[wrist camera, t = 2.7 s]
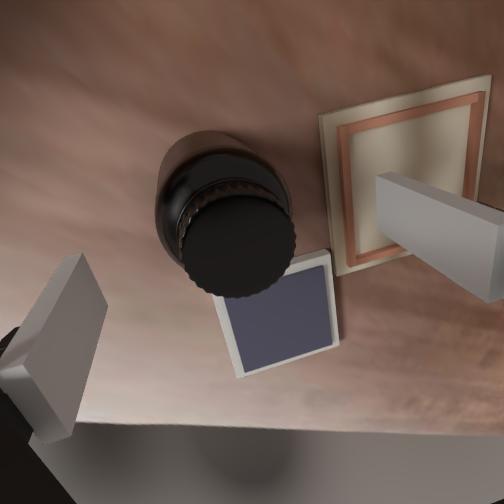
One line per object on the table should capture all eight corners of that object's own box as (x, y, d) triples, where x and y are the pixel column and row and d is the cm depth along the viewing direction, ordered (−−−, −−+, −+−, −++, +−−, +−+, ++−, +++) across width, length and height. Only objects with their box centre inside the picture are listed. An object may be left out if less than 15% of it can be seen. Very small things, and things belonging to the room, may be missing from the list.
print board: (333, 272, 30) (340, 280, 29) (318, 114, 24) (326, 116, 23) (466, 232, 32) (478, 238, 30) (482, 74, 26) (498, 74, 24)
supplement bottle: (272, 157, 25) (354, 211, 14) (228, 238, 27) (271, 339, 16) (183, 107, 22) (201, 128, 12) (141, 202, 24) (123, 293, 13)
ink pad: (235, 370, 32) (237, 382, 31) (208, 282, 28) (210, 291, 27) (334, 338, 34) (341, 348, 32) (325, 248, 29) (332, 255, 28)
